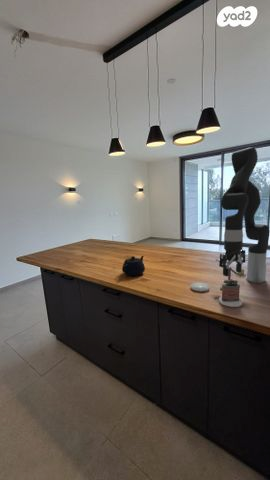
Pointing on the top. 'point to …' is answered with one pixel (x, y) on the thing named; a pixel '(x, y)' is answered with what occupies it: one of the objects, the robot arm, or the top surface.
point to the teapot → (133, 266)
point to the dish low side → (231, 303)
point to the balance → (234, 272)
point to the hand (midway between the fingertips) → (232, 273)
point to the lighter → (230, 291)
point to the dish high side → (199, 286)
